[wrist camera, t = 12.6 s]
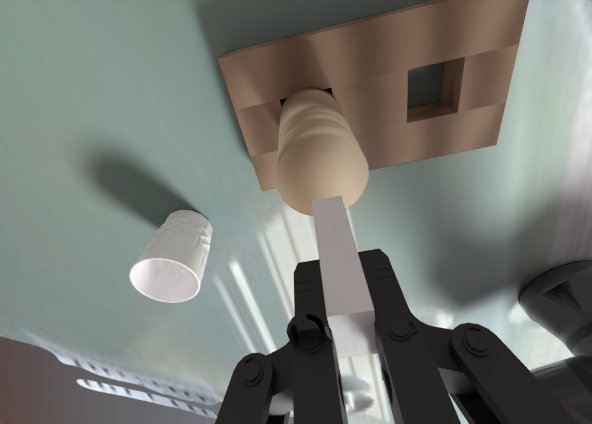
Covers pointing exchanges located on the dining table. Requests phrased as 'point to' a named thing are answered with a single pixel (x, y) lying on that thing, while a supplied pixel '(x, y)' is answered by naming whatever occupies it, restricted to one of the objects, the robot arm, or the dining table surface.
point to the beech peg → (317, 152)
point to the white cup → (174, 258)
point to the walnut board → (385, 80)
